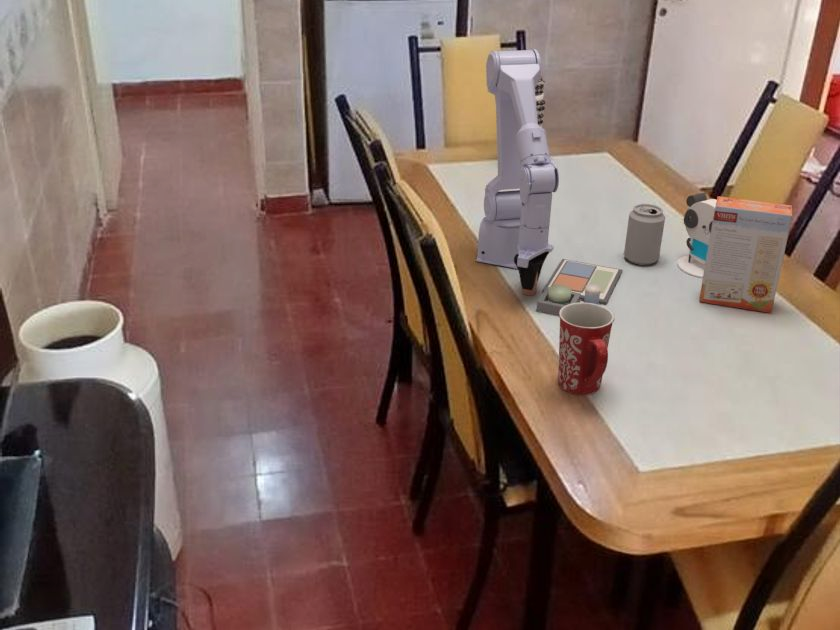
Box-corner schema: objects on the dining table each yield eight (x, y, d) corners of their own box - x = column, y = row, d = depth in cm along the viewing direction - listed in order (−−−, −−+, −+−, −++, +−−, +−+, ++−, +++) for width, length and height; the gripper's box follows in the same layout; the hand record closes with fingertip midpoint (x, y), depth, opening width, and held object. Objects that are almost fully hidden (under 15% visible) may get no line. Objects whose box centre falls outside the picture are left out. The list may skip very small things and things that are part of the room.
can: (658, 268, 202) (666, 216, 196) (623, 265, 204) (630, 213, 198) (658, 254, 209) (666, 203, 203) (623, 250, 210) (630, 200, 204)
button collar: (536, 310, 185) (537, 301, 184) (545, 295, 190) (546, 286, 189) (571, 318, 182) (572, 308, 181) (579, 302, 188) (581, 293, 187)
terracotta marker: (520, 294, 191) (522, 266, 188) (524, 288, 193) (526, 261, 190) (533, 296, 190) (536, 269, 187) (537, 290, 192) (540, 263, 189)
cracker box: (772, 301, 190) (793, 204, 180) (771, 314, 185) (793, 215, 175) (700, 289, 194) (717, 193, 184) (697, 302, 189) (715, 204, 179)
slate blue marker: (580, 317, 183) (583, 289, 180) (584, 310, 185) (587, 282, 182) (595, 320, 182) (599, 292, 179) (598, 313, 184) (602, 285, 181)
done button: (545, 301, 184) (546, 292, 183) (551, 292, 188) (552, 283, 187) (567, 306, 183) (568, 296, 182) (572, 296, 187) (573, 287, 186)
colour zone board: (542, 292, 191) (542, 288, 191) (562, 261, 204) (562, 257, 204) (606, 305, 187) (606, 300, 187) (622, 272, 200) (622, 268, 200)
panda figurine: (663, 261, 206) (674, 196, 198) (701, 250, 211) (713, 187, 203) (704, 283, 197) (716, 216, 189) (743, 271, 202) (756, 206, 194)
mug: (545, 371, 165) (552, 303, 159) (594, 367, 167) (603, 299, 160) (568, 412, 154) (576, 341, 148) (620, 407, 156) (631, 337, 149)
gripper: (544, 240, 177) (539, 304, 183) (564, 213, 189) (558, 274, 195) (508, 234, 179) (504, 297, 186) (530, 207, 191) (525, 268, 198)
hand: (529, 285), depth 191 cm, fingers closed on terracotta marker, 3 cm apart
